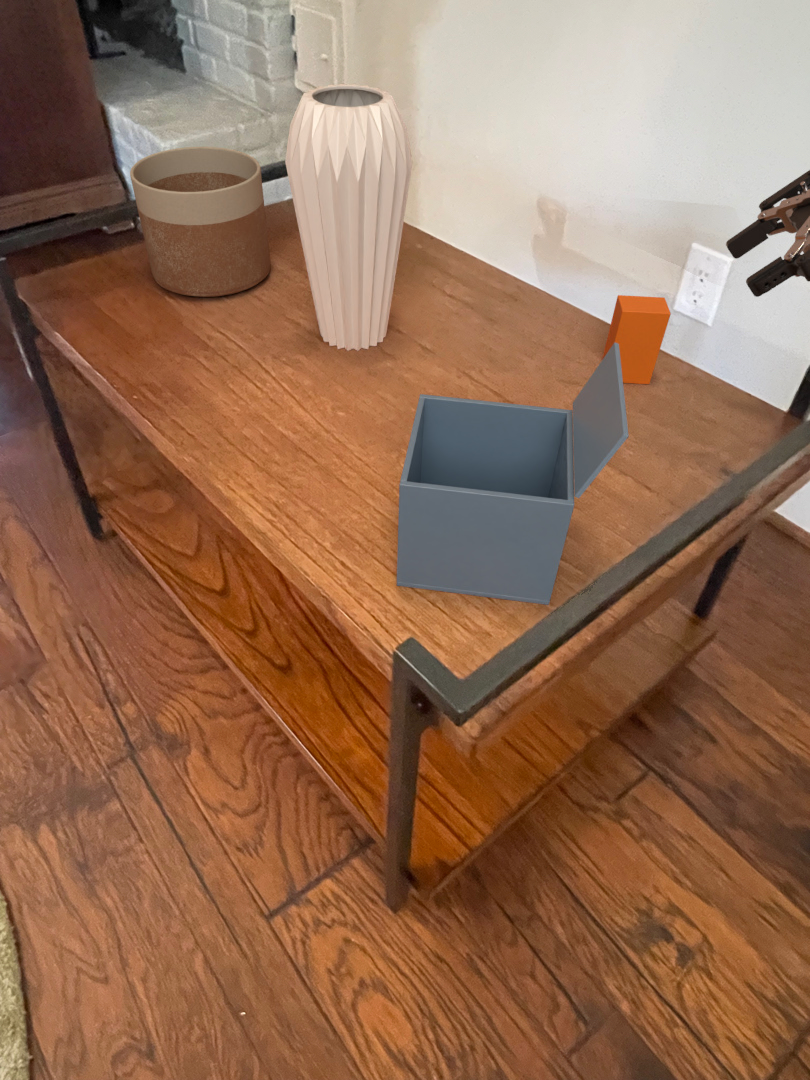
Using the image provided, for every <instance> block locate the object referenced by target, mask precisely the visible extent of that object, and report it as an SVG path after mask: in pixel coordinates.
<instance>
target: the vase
mask: <svg viewBox="0 0 810 1080" xmlns="http://www.w3.org/2000/svg"><path fill="white" fill-rule="evenodd" d="M408 133H409V132H408V129H407V125H406V123H405V121H404V119H403V116H402V114H401V112H400V109H399V108H398V105H397V103H396V101H395V98H394V97H393V95H392V94H390V93H389V92H388V90H384V89H383V90H382V89H381V88H380V87H372V86H371V87H370V85H368V84H363V85H359V84H357V83H351V84H346V83H339V84H331V83H330V84H327V86H324V85H322V86H321V85H317V87H316V88H309V89H308V90H307V92H303V94H302V95H301V98H300V101H299V103H298V105H297V107H296V110H295V112H294V115H293V116H292V119H291V121H290V125H289V130H288V137H287V145H286V152H285V159H284V162H285V167H286V172H287V177H288V182H289V187H290V192H291V198H292V202H293V208H294V212H295V217H296V221H297V227H298V230H299V232H298V233H299V237H300V241H301V247H302V251H303V256H304V257H303V258H304V261H305V266H306V271H307V276H308V280H309V286H310V290H311V295H312V300H313V305H314V311H315V315H316V320H317V324H318V329H319V333H320V337H322V339H323V342H324V343H328V346H329V347H334V346H336V348H337V350H341V349H345V350H346V352H349V351H351V350H355V351H356V352H359V351H361V349H364V350H369V349H370V347H377V346H378V343H384V338H386V337H387V331H388V326H389V319H390V314H391V313H390V312H391V307H392V300H393V293H394V288H395V287H394V286H395V280H396V274H397V269H398V268H397V267H398V262H399V261H398V260H399V254H400V249H401V248H400V247H401V241H402V236H403V229H404V221H405V217H406V208H407V202H408V195H409V189H410V183H411V177H412V176H411V175H412V170H413V169H412V168H413V159H412V157H413V155H412V150H411V145H410V139H409V134H408Z"/></svg>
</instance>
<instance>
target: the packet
mask: <svg viewBox="0 0 810 1080" xmlns="http://www.w3.org/2000/svg"><path fill="white" fill-rule="evenodd" d="M613 309H614V310H613V313H612V314H613V315H612V318H611V322H610V326H609V328H608V329H609V330H608V333H607V338H606V342H605V346H604V350H603V354H602V357H601V361H602V360H603V358H604V357H605V355H606V354H607V353H608V351H609V350H610V348H611V347H612V345H613V344H614V343H618V344H619V350H620V359H621V369H622V378H623V384H636V385H650V384H651V381H652V376H653V373H654V370H655V367H656V364H657V360H658V358H659V353H660V352H661V351H660V350H661V348H662V344H663V341H664V337H665V334H666V331H667V328H668V324H669V321H670V318H671V314H672V313H671V310H670V308H669V305H668V302H667V300H666V298H665V297H663V296H662V297H660V296H643V295H640V296H639V295H623V294H618V295H617V297H616V301H615V305H614V308H613Z"/></svg>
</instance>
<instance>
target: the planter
mask: <svg viewBox="0 0 810 1080" xmlns="http://www.w3.org/2000/svg"><path fill="white" fill-rule="evenodd" d="M129 177H130V182H131V185H132V190H133V195H134V199H135V204H136V206H137V207H136V208H137V212H138V217H139V222H140V227H141V230H142V235H143V239H144V244H145V249H146V252H147V257H148V262H149V267H150V272H151V275H152V278H153V280H154V281H155V282H156V283H157V284H158V286H160V287H162V288H163V289H165V290H167V291H169V292H171V293H175V294H178V295H182V296H187V297H188V296H189V297H197V298H211V297H212V298H215V297H222V296H224V297H225V296H229V295H234V294H238V293H241V292H243V291H246V290H249V289H251V288H253V287H255V286H257V285H258V284H259V283H261V282H263V280H265V279H266V277H267V276H268V275H269V273H270V270H271V256H270V247H269V238H268V237H269V236H268V228H267V219H266V218H267V217H266V208H265V197H264V189H263V180H262V170H261V165H260V163H259V162H258V160H257V159H256V158H254V157H253V156H252V155H249V154H248V153H245V152H243V151H239V150H236V149H231V148H226V147H218V146H185V147H176V148H171V149H165V150H162V151H158V152H155V153H151V154H150V155H147V156H145V157H142V158H141V159H139V160H137V162H135V163H134V164H133V165H132V167H131V168H130V171H129Z"/></svg>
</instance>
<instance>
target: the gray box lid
mask: <svg viewBox="0 0 810 1080" xmlns="http://www.w3.org/2000/svg"><path fill="white" fill-rule="evenodd" d="M602 358H603V357H602ZM624 388H625V387H624V383H623V378H622V369H621V359H620V350H619V344H618V343H614V344H613V345H612V347H611V348H610V350H609V351H608V353H607V354H606V355H605V357H604V358H603V360H602V359H601V361H600V363H599V364H598V365H597V367H596V368H595V369H594V371H593V372H592V374H591V375H590V376H589V378H588V380H587V381H586V383H585V384H584V385H583V387H582V388H581V389H580V391H579V393H578V394H577V396H576V397H575V398H574V400H572V401H573V402H572V412H573V460H574V498H577V499H580V498H581V497H582V495H583V494H584V493H585V492H586V491H587V489H588V488H589V487H590V486H591V484H592V483H593V482H594V481H595V480H596V478H597V477H598V476H599V474H600V473H601V472H602V470H603V469H604V468H605V467H606V465H608V463H609V462H610V461H611V460H612V458H613V457H614V456H615V454H616V453H617V452H618V451H619V449H620V448H621V447H622V446H623V444H624V443H625V442H626V441H627V439H628V438H629V427H628V418H627V417H628V416H627V407H626V398H625V389H624Z"/></svg>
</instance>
